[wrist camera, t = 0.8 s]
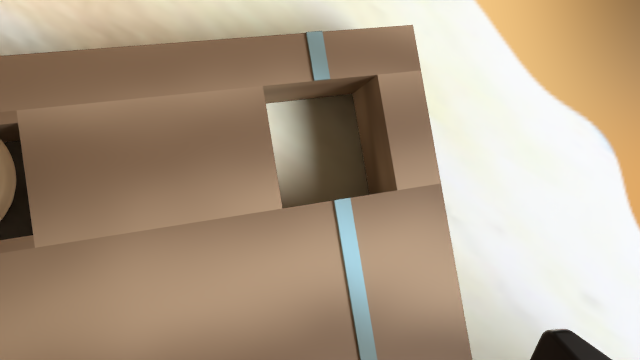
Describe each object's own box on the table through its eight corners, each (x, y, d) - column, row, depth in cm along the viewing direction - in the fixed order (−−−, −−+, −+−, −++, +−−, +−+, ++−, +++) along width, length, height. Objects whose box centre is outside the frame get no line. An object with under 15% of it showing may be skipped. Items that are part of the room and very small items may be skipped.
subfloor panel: (457, 469, 24) (498, 501, 21) (-92, 639, 19) (-139, 713, 16) (384, 49, 25) (414, 24, 22) (-156, 96, 20) (-211, 70, 17)
